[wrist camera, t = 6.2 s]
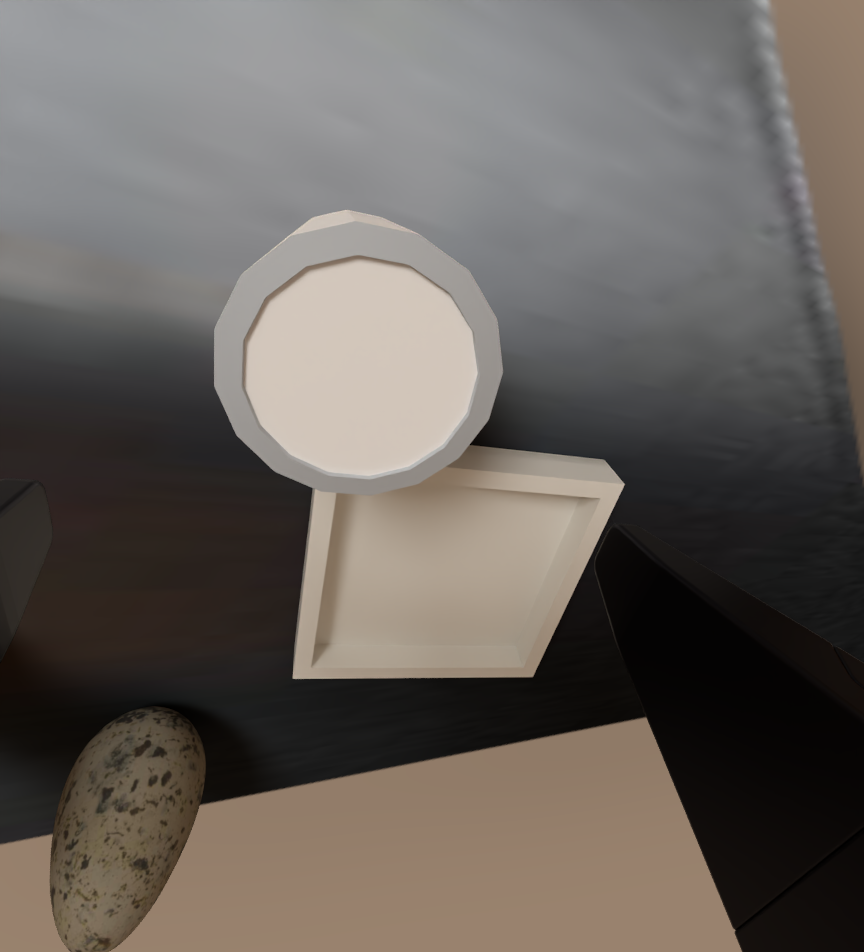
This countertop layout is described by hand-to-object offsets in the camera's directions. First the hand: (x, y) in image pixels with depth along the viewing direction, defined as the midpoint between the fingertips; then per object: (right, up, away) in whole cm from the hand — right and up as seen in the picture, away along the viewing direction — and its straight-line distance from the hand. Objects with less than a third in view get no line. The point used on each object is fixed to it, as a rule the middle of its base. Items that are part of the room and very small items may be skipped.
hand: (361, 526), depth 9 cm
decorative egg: (-14, -12, +20) cm, 27 cm away
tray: (+2, -3, +17) cm, 17 cm away
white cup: (-2, +7, +10) cm, 12 cm away
